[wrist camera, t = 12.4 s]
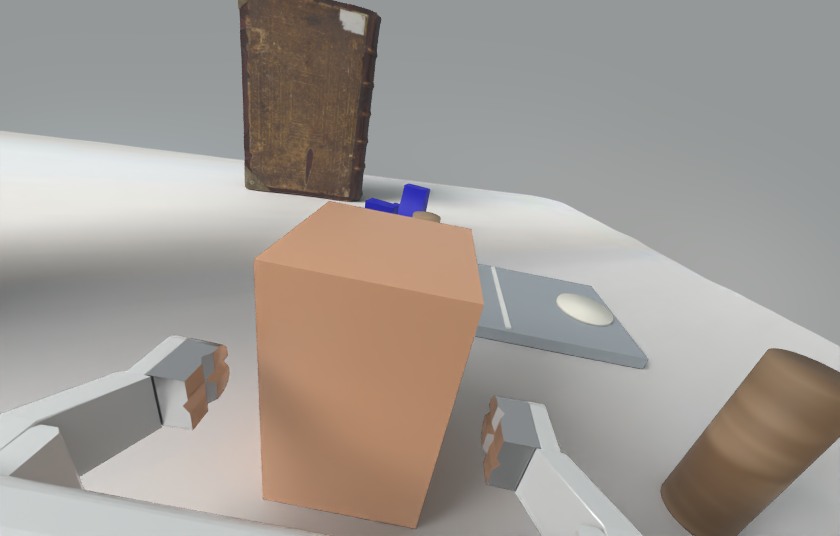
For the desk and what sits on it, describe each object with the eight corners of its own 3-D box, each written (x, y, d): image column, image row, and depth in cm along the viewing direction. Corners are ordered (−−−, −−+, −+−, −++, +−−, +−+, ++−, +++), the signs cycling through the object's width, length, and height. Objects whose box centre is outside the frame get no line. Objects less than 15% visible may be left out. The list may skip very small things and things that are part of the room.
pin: (683, 538, 16) (816, 396, 12) (649, 475, 18) (747, 342, 14) (747, 551, 16) (901, 413, 12) (704, 486, 18) (817, 356, 14)
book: (363, 195, 57) (383, 15, 46) (359, 207, 51) (380, 3, 40) (259, 178, 55) (254, -14, 44) (241, 189, 49) (230, -32, 38)
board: (368, 315, 27) (378, 232, 24) (391, 255, 38) (401, 193, 35) (642, 369, 27) (688, 293, 24) (587, 293, 38) (614, 235, 35)
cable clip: (391, 223, 48) (398, 180, 45) (421, 232, 47) (430, 189, 44) (347, 250, 37) (352, 197, 35) (384, 262, 36) (392, 208, 34)
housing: (263, 498, 14) (253, 259, 9) (317, 384, 20) (329, 201, 15) (415, 528, 14) (484, 304, 9) (425, 406, 20) (471, 229, 15)
